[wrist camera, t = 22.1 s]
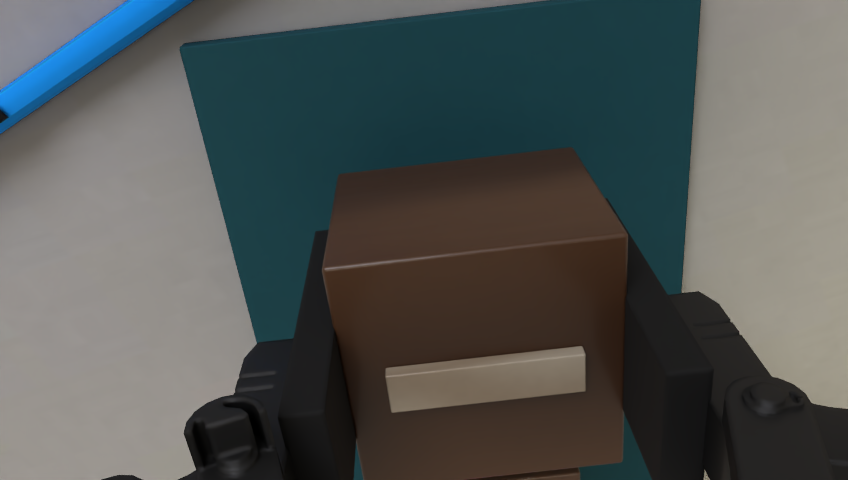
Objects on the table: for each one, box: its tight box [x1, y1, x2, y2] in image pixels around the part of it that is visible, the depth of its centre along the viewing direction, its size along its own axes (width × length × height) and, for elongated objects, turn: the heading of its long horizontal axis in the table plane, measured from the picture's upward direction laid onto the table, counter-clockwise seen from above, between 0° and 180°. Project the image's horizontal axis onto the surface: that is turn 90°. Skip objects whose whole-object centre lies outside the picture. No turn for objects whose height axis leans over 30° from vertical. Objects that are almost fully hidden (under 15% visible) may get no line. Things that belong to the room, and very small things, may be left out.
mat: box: [180, 0, 701, 480], centre depth 24 cm, size 20×14×1 cm
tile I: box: [322, 147, 628, 480], centre depth 16 cm, size 6×6×5 cm
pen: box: [0, 0, 194, 134], centre depth 19 cm, size 1×19×1 cm, turn 121°
